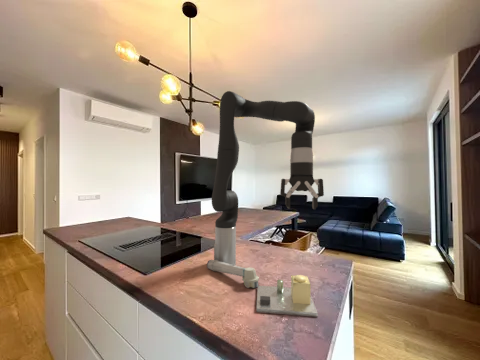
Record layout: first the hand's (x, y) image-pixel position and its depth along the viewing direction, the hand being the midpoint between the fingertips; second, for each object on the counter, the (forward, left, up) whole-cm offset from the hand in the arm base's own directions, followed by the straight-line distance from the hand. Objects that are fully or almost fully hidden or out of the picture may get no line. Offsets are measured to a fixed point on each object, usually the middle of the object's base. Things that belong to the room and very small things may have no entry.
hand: (301, 208), depth 71 cm
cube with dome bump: (-2, -8, -27) cm, 28 cm away
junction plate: (-6, -8, -28) cm, 30 cm away
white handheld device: (-25, +6, -29) cm, 39 cm away
